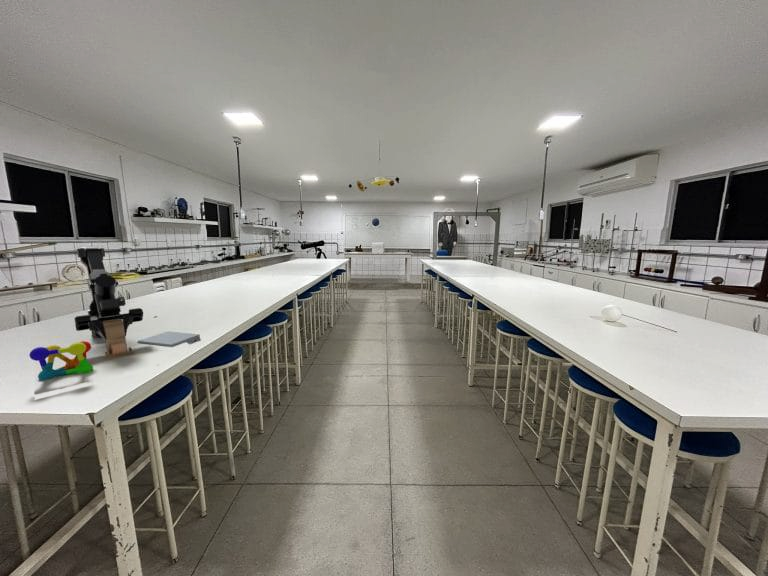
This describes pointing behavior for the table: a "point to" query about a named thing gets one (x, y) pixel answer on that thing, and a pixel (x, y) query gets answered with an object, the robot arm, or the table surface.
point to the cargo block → (118, 348)
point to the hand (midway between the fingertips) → (115, 337)
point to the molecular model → (55, 351)
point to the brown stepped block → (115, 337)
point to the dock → (170, 338)
